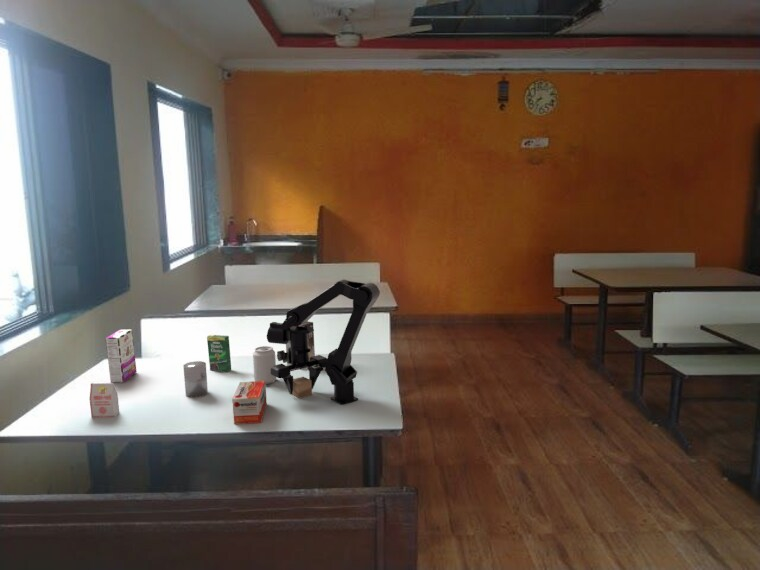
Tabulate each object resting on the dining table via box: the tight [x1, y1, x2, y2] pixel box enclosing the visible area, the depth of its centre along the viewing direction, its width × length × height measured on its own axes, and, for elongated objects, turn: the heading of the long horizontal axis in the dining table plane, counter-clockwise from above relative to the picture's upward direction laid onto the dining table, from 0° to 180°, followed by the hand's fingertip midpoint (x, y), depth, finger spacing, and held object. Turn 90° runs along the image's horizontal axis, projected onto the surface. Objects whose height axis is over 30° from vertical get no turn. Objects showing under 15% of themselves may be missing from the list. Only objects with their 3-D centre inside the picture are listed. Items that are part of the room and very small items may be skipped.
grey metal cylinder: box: [182, 360, 209, 399], centre depth 196 cm, size 7×7×10 cm
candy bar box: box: [105, 328, 137, 384], centre depth 213 cm, size 11×5×16 cm, turn 179°
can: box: [252, 345, 277, 385], centre depth 207 cm, size 8×8×12 cm
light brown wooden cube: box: [291, 376, 313, 399], centre depth 195 cm, size 5×5×5 cm
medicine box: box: [231, 380, 268, 425], centre depth 179 cm, size 15×8×8 cm, turn 5°
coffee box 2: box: [285, 320, 316, 366], centre depth 224 cm, size 9×6×16 cm
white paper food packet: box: [89, 382, 120, 418], centre depth 180 cm, size 4×7×10 cm, turn 90°
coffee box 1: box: [206, 334, 232, 373], centre depth 220 cm, size 8×3×13 cm, turn 70°
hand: (301, 391), depth 195 cm, fingers open, 7 cm apart
